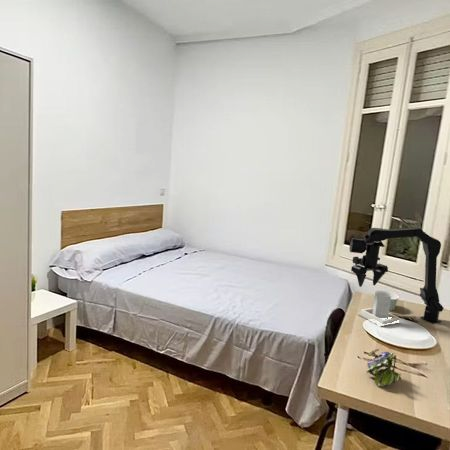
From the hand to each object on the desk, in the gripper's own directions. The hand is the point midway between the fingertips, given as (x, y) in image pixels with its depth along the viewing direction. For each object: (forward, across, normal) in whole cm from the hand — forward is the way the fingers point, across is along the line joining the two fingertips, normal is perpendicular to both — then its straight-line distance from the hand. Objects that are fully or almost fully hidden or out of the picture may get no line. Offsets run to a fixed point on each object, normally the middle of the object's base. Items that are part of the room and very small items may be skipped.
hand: (367, 285), depth 175 cm
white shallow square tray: (+13, 0, +9) cm, 16 cm away
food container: (+13, -16, -1) cm, 21 cm away
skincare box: (+13, 0, +10) cm, 16 cm away
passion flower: (+13, +39, +45) cm, 61 cm away
